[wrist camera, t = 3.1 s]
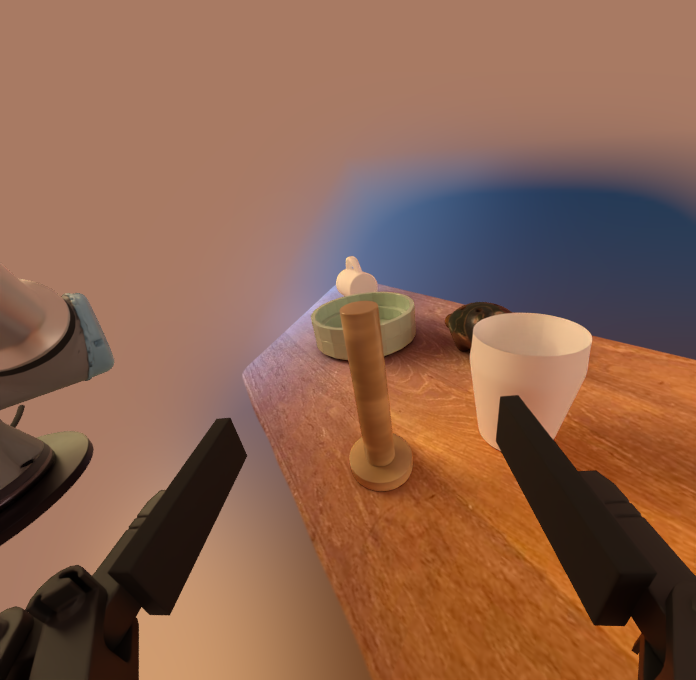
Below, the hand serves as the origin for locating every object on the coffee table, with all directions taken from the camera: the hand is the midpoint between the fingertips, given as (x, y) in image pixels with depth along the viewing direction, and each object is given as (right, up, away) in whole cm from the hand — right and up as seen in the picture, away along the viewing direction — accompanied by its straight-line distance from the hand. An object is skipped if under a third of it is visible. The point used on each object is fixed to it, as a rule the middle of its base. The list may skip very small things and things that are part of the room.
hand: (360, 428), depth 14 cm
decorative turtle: (+21, +3, +32) cm, 38 cm away
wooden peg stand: (+3, -8, +15) cm, 17 cm away
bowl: (+3, +5, +42) cm, 42 cm away
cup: (+17, -6, +16) cm, 24 cm away
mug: (+2, +16, +65) cm, 67 cm away
